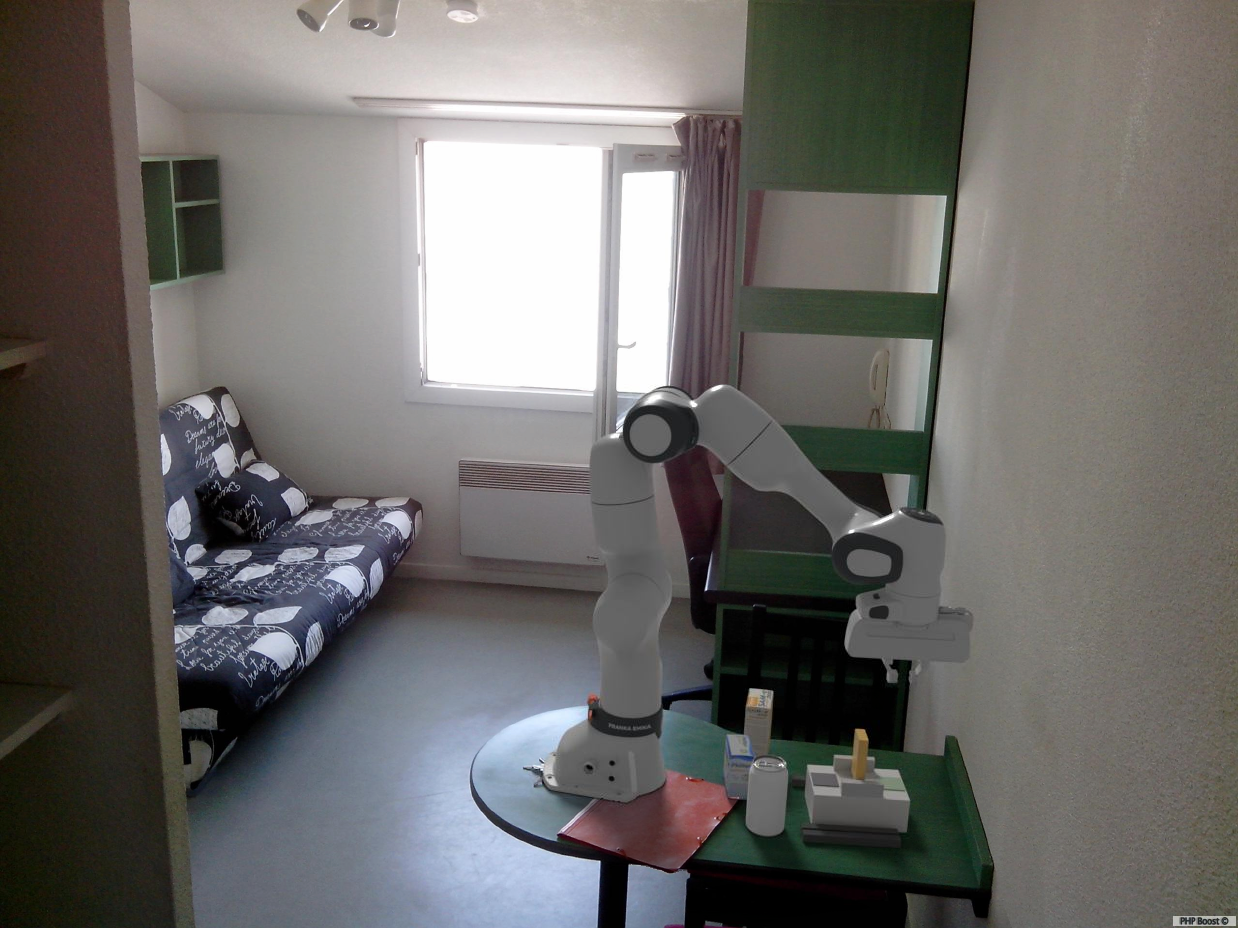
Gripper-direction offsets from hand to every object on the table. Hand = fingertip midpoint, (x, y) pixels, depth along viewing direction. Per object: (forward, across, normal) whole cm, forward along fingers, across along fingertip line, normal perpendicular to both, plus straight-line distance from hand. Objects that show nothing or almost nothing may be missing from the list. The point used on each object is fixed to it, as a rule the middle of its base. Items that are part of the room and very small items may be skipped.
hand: (903, 681), depth 177 cm
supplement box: (+25, +22, -16) cm, 37 cm away
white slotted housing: (+25, +6, 0) cm, 26 cm away
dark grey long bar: (+25, +8, -8) cm, 28 cm away
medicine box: (+25, +26, -6) cm, 37 cm away
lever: (+18, +6, 0) cm, 19 cm away
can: (+25, +22, +6) cm, 34 cm away
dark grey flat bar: (+25, +8, +7) cm, 27 cm away
